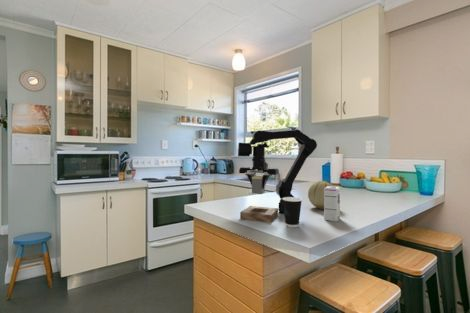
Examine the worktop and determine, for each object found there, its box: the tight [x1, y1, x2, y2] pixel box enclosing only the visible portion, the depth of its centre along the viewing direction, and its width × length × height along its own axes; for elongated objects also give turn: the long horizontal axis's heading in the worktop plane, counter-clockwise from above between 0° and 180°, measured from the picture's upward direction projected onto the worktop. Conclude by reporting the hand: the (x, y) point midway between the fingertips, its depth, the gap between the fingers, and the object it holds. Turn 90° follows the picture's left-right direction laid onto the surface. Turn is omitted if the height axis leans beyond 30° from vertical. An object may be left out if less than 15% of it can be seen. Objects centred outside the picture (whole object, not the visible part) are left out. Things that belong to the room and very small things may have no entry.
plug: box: [251, 175, 266, 195], centre depth 124 cm, size 5×5×8 cm
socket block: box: [239, 205, 279, 223], centre depth 116 cm, size 14×14×3 cm
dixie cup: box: [283, 196, 303, 228], centre depth 103 cm, size 8×8×11 cm
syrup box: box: [323, 185, 341, 222], centre depth 113 cm, size 6×6×14 cm
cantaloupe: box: [307, 179, 334, 210], centre depth 134 cm, size 15×15×15 cm
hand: (258, 188), depth 124 cm, fingers closed on plug, 5 cm apart
